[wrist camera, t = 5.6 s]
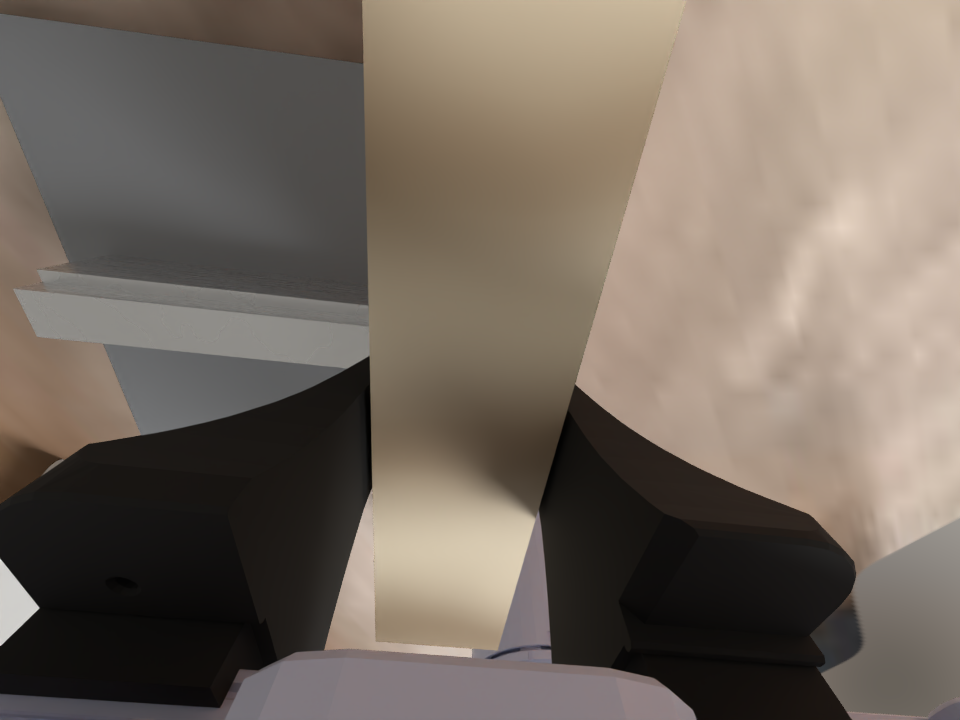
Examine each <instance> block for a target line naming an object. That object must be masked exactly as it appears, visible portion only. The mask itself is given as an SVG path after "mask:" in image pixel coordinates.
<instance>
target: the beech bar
mask: <svg viewBox="0 0 960 720" xmlns="http://www.w3.org/2000/svg"><path fill="white" fill-rule="evenodd" d="M685 4H686V0H362V17H363V64H364V111H365V158H366V206H367V253H368V300H369V347H370V394H371V442H372V489H373V536H374V583H375V630H376V641H377V642H390V643H403V644H417V645H430V646H443V647H456V648H470V649H483V650H496V651H498V647H499V644H500V640H501V637H502V634H503V630H504V627H505V623H506V620H507V616H508V613H509V609H510V606H511V603H512V599H513V596H514V592H515V589H516V585H517V582H518V578H519V575H520V572H521V568H522V565H523V561H524V558H525V554H526V551H527V547H528V544H529V541H530V537H531V534H532V530H533V527H534V523H535V520H536V516H537V513H538V510H539V506H540V503H541V499H542V496H543V492H544V489H545V486H546V482H547V479H548V475H549V472H550V468H551V465H552V461H553V458H554V455H555V451H556V448H557V444H558V441H559V437H560V434H561V430H562V427H563V424H564V420H565V417H566V413H567V410H568V406H569V403H570V399H571V396H572V393H573V389H574V386H575V382H576V379H577V375H578V372H579V368H580V365H581V362H582V358H583V355H584V351H585V348H586V344H587V341H588V337H589V334H590V331H591V327H592V324H593V320H594V317H595V313H596V310H597V307H598V303H599V300H600V296H601V293H602V289H603V286H604V282H605V279H606V276H607V272H608V269H609V265H610V262H611V258H612V255H613V251H614V248H615V245H616V241H617V238H618V234H619V231H620V227H621V224H622V220H623V217H624V214H625V210H626V207H627V203H628V200H629V196H630V193H631V189H632V186H633V183H634V179H635V176H636V172H637V169H638V165H639V162H640V159H641V155H642V152H643V148H644V145H645V141H646V138H647V134H648V131H649V128H650V124H651V121H652V117H653V114H654V110H655V107H656V103H657V100H658V97H659V93H660V90H661V86H662V83H663V79H664V76H665V72H666V69H667V66H668V62H669V59H670V55H671V52H672V48H673V45H674V41H675V38H676V35H677V31H678V28H679V24H680V21H681V17H682V14H683V11H684V7H685Z"/></svg>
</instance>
